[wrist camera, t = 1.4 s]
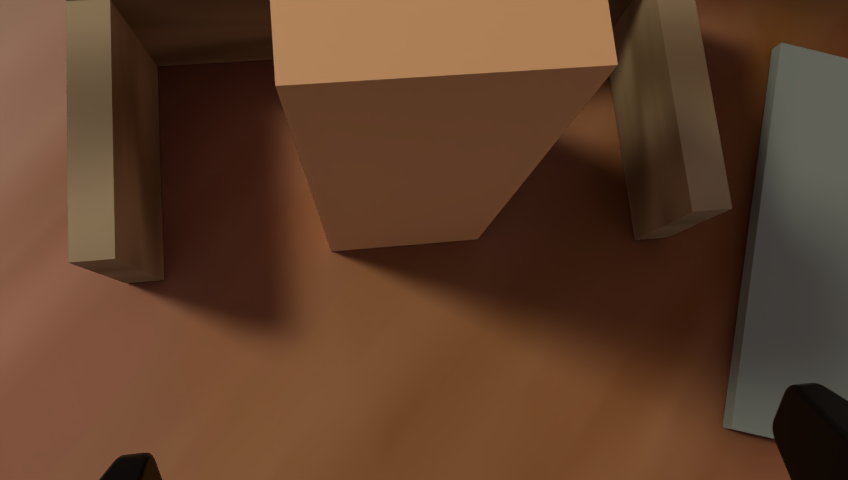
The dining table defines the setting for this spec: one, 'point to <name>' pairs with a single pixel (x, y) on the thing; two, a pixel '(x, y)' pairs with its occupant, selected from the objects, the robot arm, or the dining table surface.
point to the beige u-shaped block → (252, 41)
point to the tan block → (430, 106)
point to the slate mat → (794, 243)
